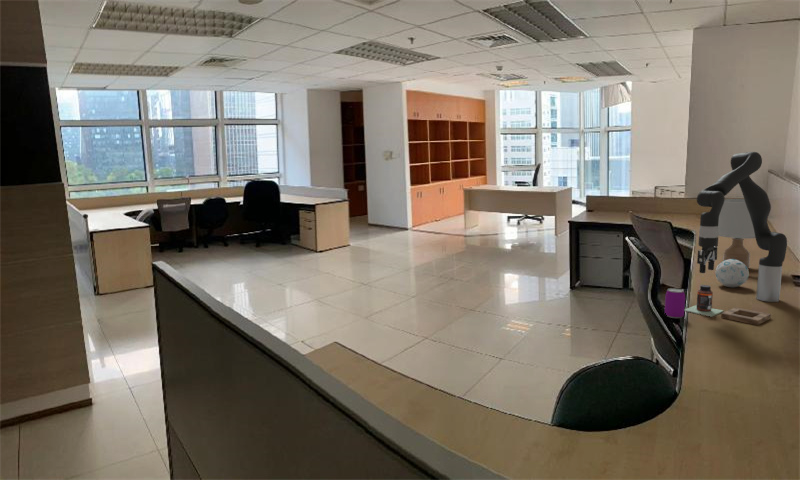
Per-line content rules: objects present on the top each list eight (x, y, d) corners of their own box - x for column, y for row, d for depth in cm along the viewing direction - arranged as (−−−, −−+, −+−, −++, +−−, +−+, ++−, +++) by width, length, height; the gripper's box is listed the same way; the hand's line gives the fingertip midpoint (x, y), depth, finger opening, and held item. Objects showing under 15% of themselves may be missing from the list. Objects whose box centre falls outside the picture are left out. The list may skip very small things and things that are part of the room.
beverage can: (668, 312, 238) (669, 287, 236) (686, 316, 232) (688, 289, 230) (661, 316, 232) (663, 290, 231) (680, 319, 227) (682, 293, 225)
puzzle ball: (742, 291, 271) (744, 263, 269) (710, 286, 282) (712, 259, 280) (751, 286, 281) (753, 259, 278) (720, 282, 292) (722, 255, 290)
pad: (695, 306, 247) (695, 305, 247) (723, 311, 237) (723, 310, 237) (683, 311, 240) (683, 309, 239) (711, 316, 230) (711, 315, 230)
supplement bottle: (713, 312, 235) (715, 287, 233) (699, 311, 236) (700, 287, 234) (708, 308, 241) (710, 284, 239) (694, 308, 242) (696, 284, 240)
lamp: (768, 271, 316) (774, 201, 309) (728, 272, 316) (733, 202, 310) (742, 263, 339) (748, 198, 333) (705, 264, 340) (710, 199, 333)
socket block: (734, 311, 237) (734, 307, 237) (770, 318, 226) (770, 314, 226) (721, 317, 229) (721, 313, 229) (757, 325, 218) (758, 320, 217)
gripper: (706, 233, 240) (704, 267, 243) (692, 236, 232) (690, 272, 234) (724, 234, 234) (722, 270, 237) (710, 238, 226) (708, 275, 228)
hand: (706, 271), depth 235 cm, fingers open, 8 cm apart
